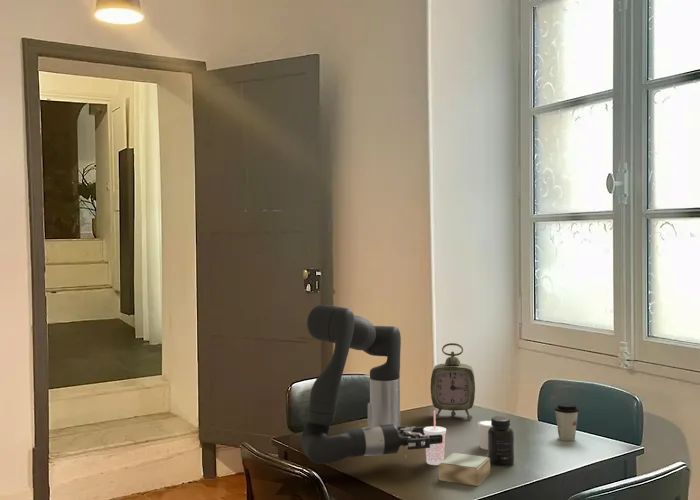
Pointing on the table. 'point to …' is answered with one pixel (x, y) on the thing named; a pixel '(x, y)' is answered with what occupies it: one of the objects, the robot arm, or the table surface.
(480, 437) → the white cup
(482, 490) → the table surface
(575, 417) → the coffee cup
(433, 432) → the beverage cup
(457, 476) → the small box
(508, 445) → the supplement bottle
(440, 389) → the tabletop clock
